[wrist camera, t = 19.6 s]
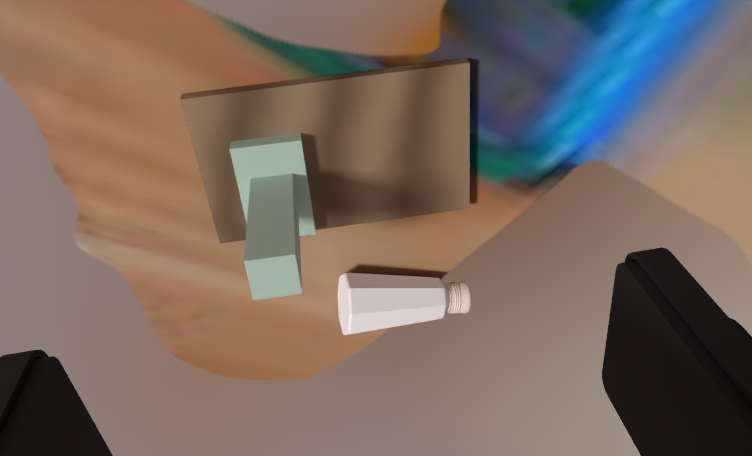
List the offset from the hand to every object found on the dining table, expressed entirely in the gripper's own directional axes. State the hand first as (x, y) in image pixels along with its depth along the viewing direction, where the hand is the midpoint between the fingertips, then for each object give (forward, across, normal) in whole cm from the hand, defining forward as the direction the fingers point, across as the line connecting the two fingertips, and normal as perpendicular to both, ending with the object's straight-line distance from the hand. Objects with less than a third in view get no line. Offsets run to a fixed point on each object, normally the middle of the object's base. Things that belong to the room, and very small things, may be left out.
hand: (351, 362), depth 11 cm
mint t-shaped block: (+34, +5, +15) cm, 37 cm away
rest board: (+35, 0, +13) cm, 37 cm away
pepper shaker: (+32, +2, +26) cm, 41 cm away
